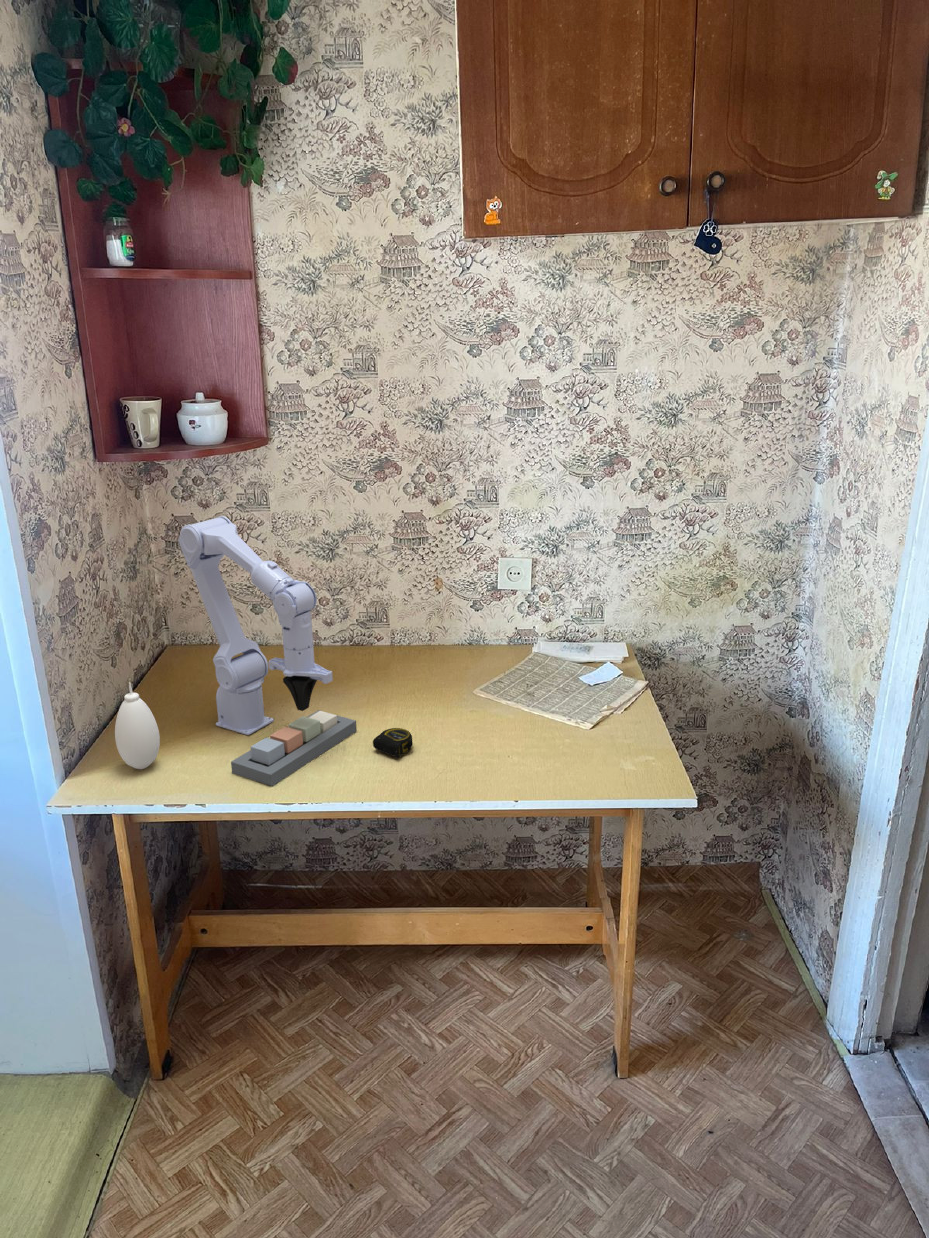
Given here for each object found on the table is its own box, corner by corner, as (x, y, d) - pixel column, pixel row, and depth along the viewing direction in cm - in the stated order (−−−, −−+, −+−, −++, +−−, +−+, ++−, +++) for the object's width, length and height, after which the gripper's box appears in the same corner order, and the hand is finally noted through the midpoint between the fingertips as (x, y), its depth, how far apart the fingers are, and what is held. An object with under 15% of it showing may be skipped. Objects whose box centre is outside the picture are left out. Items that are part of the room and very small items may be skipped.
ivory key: (307, 731, 194) (306, 718, 193) (320, 722, 197) (320, 710, 196) (324, 736, 191) (323, 723, 190) (337, 727, 195) (336, 715, 194)
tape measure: (371, 752, 188) (370, 735, 187) (395, 739, 193) (394, 723, 192) (396, 763, 184) (395, 745, 183) (420, 749, 189) (419, 733, 187)
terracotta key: (271, 748, 185) (269, 735, 184) (286, 739, 188) (285, 726, 187) (288, 753, 182) (287, 740, 181) (303, 744, 186) (302, 731, 185)
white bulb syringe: (147, 753, 188) (136, 670, 182) (170, 765, 183) (159, 680, 177) (112, 768, 182) (99, 683, 176) (135, 781, 178) (122, 694, 172)
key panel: (232, 773, 180) (230, 761, 179) (319, 720, 201) (318, 710, 200) (271, 786, 175) (270, 774, 174) (356, 731, 196) (356, 720, 195)
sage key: (289, 737, 189) (288, 724, 188) (303, 728, 192) (302, 716, 191) (306, 742, 187) (305, 729, 186) (320, 733, 190) (319, 720, 189)
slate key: (251, 759, 180) (250, 746, 179) (267, 750, 184) (266, 737, 183) (269, 765, 178) (268, 752, 177) (284, 755, 182) (283, 742, 181)
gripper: (255, 644, 183) (261, 708, 188) (314, 658, 176) (318, 724, 181) (280, 633, 189) (285, 695, 193) (337, 646, 182) (341, 710, 186)
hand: (303, 708), depth 188 cm, fingers closed
